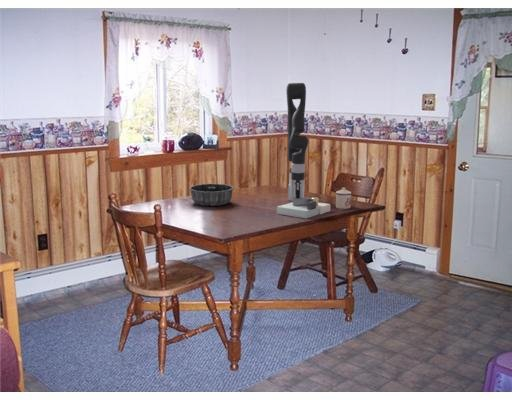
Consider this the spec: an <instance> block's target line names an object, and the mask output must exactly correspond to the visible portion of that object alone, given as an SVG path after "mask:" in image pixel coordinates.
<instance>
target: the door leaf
mask: <svg viewBox="0 0 512 400" xmlns="http://www.w3.org/2000/svg"><path fill="white" fill-rule="evenodd" d="M276 214H277V215H284V216H289V217H293V218H294V217H296V218H302V219H309V218H311V217H314V216H317V215H319V214H318V207H316V208H315V209H312V210H307V206H306V205H293V204H292V202H288V203H286V204H282V205H278V206H276Z"/></svg>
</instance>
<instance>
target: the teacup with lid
mask: <svg viewBox="0 0 512 400" xmlns="http://www.w3.org/2000/svg"><path fill="white" fill-rule="evenodd" d="M351 200H352V191H349V190H348V189H346V187H341V189H340V190H336V192H335V207H336V209H341V210H347V209H348V210H349V209H350V208H351V206H352V205H351V202H352V201H351Z"/></svg>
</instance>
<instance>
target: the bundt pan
mask: <svg viewBox="0 0 512 400" xmlns="http://www.w3.org/2000/svg"><path fill="white" fill-rule="evenodd" d="M234 188H235V187H234V186H233V185H229V184H226V183H225V184H223V183H221V184H220V183H201V184H195V185H192V186H190V187H189V190H190V194H191V200H192V201H193V203H195V204H196V205H199V206H205V207H209V206H211V207H215V206H217V207H218V206H219V207H220V206H223V205H228V204H229V203H230V202H231V200H232V196H233V190H234Z"/></svg>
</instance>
